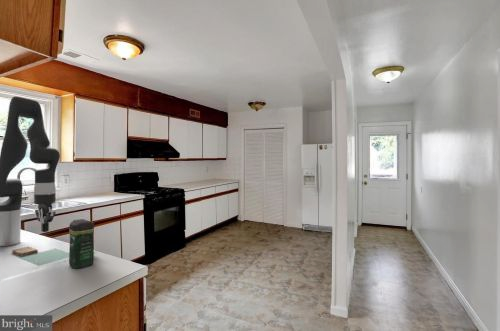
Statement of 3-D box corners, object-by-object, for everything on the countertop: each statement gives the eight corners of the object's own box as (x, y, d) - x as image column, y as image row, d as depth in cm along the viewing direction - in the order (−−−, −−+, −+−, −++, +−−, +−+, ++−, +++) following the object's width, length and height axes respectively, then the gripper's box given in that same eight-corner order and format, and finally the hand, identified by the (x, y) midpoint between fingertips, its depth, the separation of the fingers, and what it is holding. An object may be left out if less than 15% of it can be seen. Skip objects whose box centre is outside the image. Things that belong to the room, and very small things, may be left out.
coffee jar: (96, 264, 109) (97, 220, 109) (74, 270, 103) (75, 223, 103) (87, 259, 115) (87, 216, 115) (66, 264, 109) (66, 219, 109)
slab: (21, 259, 115) (12, 255, 119) (37, 255, 120) (28, 251, 124) (21, 253, 115) (12, 249, 119) (37, 249, 120) (28, 246, 124)
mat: (18, 259, 114) (18, 257, 114) (55, 249, 126) (55, 248, 126) (38, 267, 106) (38, 265, 106) (75, 256, 118) (75, 254, 118)
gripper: (27, 192, 117) (27, 231, 117) (42, 194, 110) (42, 235, 111) (47, 191, 123) (47, 227, 123) (62, 192, 117) (62, 231, 117)
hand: (45, 231), depth 117 cm, fingers closed
